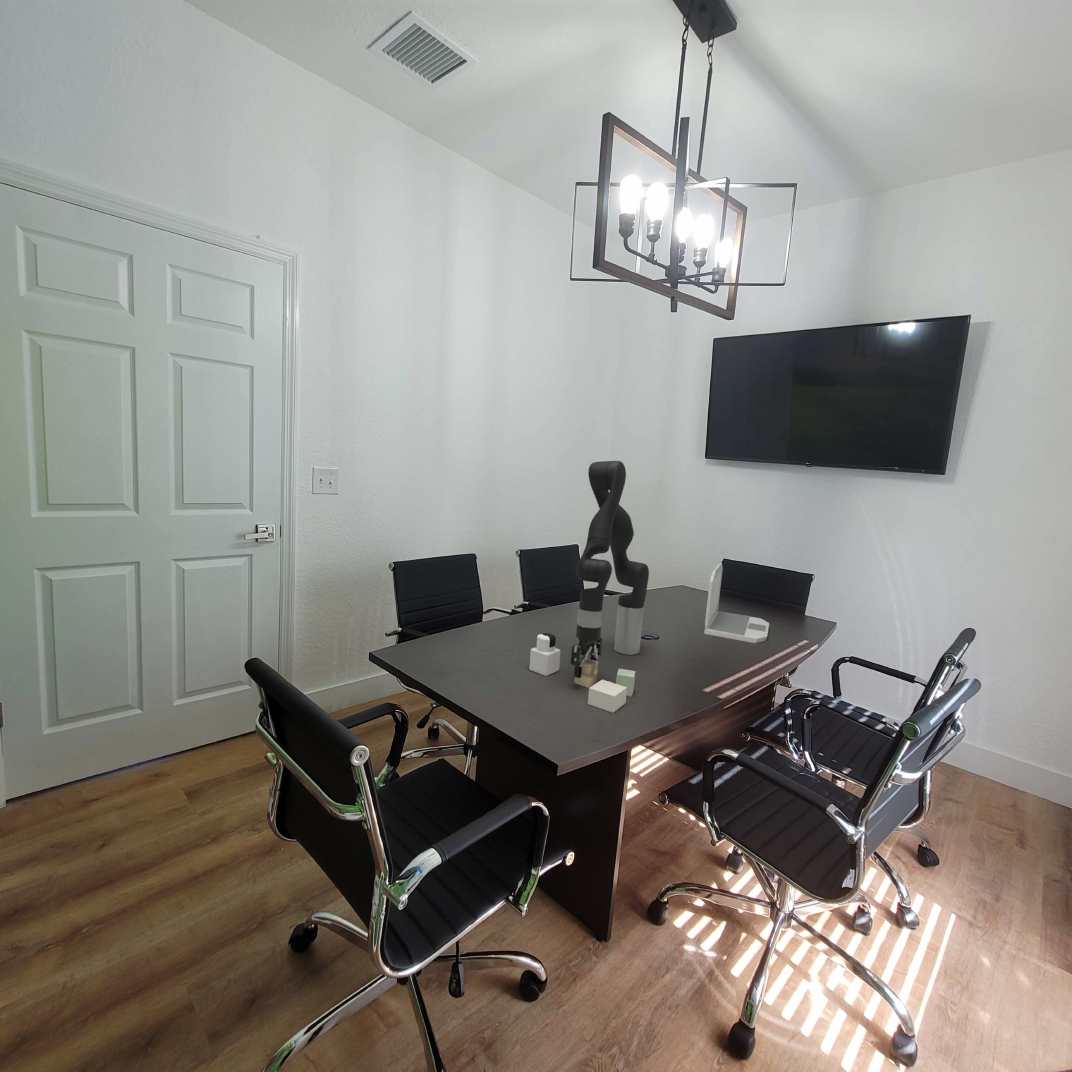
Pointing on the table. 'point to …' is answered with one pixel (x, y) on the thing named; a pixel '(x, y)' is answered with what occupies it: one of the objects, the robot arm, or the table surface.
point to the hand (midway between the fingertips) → (584, 673)
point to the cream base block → (607, 695)
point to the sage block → (626, 680)
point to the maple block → (588, 673)
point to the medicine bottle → (545, 655)
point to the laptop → (731, 617)
